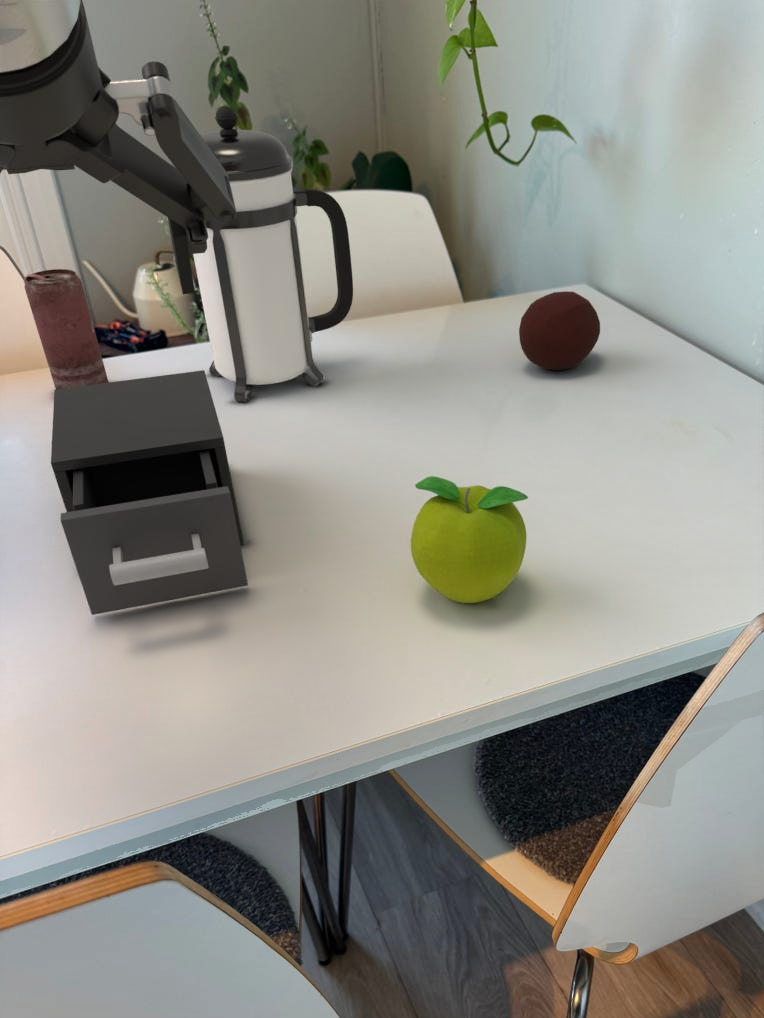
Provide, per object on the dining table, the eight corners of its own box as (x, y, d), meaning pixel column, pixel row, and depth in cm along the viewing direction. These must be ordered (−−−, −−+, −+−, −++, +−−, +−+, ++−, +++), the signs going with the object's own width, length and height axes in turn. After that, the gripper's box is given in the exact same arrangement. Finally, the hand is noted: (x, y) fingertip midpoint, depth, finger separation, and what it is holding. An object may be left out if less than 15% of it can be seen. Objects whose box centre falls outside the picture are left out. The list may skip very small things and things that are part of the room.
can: (62, 384, 115) (27, 268, 106) (114, 382, 115) (84, 266, 107) (50, 404, 110) (12, 284, 101) (104, 402, 110) (71, 282, 102)
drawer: (255, 614, 75) (237, 518, 69) (92, 646, 72) (59, 549, 66) (227, 504, 89) (210, 418, 83) (90, 527, 86) (62, 439, 80)
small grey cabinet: (244, 545, 85) (223, 437, 78) (86, 573, 81) (50, 462, 75) (224, 469, 97) (204, 369, 90) (85, 491, 93) (54, 389, 86)
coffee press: (300, 412, 108) (261, 121, 89) (182, 395, 112) (121, 113, 93) (362, 359, 120) (339, 95, 102) (254, 346, 125) (213, 90, 106)
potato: (502, 368, 118) (502, 295, 112) (567, 345, 124) (571, 274, 118) (550, 388, 113) (553, 312, 107) (616, 363, 119) (622, 290, 113)
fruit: (434, 555, 83) (430, 454, 77) (535, 571, 81) (538, 469, 75) (398, 613, 76) (390, 508, 70) (507, 633, 74) (508, 525, 68)
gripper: (-353, 104, 33) (-114, 365, 54) (299, 70, 39) (287, 317, 60) (-384, -81, 34) (-136, 247, 55) (261, -87, 40) (262, 212, 61)
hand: (85, 284), depth 58 cm, fingers open, 11 cm apart
